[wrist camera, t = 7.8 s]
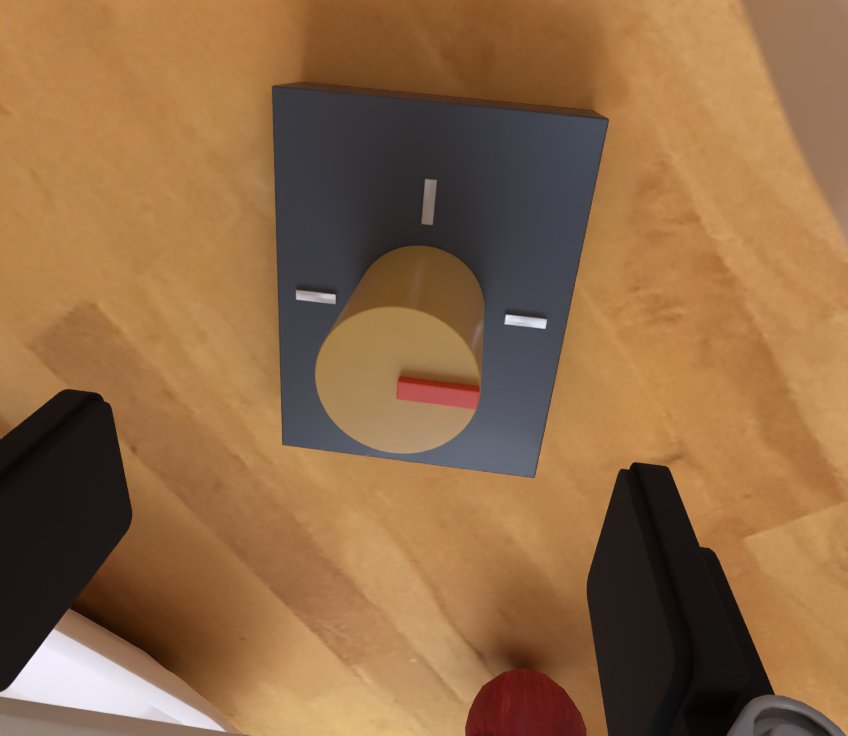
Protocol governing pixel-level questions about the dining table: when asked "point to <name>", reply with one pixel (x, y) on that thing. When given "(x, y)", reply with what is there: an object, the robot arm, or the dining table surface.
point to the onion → (523, 707)
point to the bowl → (109, 678)
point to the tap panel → (433, 242)
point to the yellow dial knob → (406, 353)
